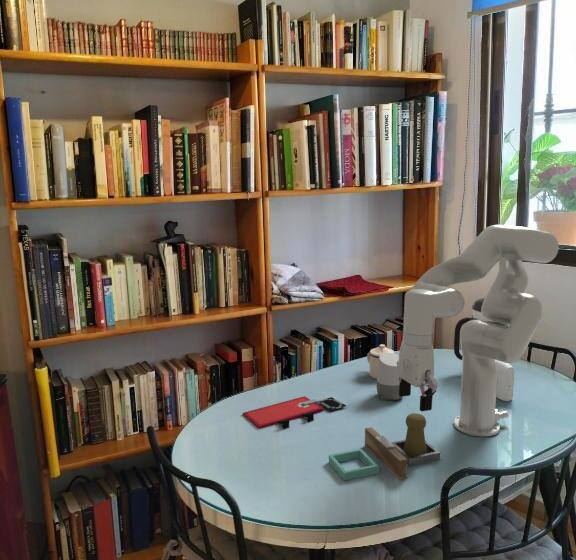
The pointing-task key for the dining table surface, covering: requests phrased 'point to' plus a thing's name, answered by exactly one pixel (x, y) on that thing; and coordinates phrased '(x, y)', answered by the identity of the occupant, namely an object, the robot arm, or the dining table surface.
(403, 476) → the door edge
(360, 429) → the dining table surface
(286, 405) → the red board with handle
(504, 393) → the photo printer
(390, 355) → the smart speaker
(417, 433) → the cork
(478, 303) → the coffee press
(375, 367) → the teacup with lid
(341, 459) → the collar
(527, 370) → the dining table surface
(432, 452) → the collar
